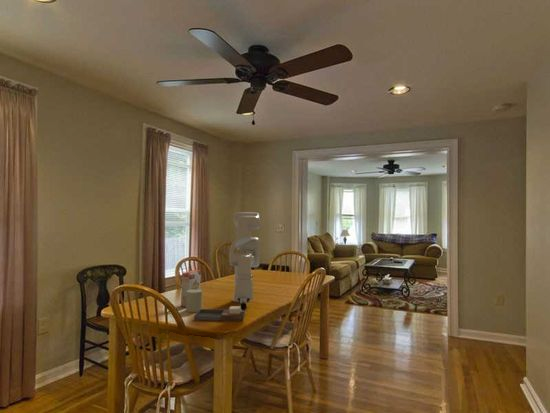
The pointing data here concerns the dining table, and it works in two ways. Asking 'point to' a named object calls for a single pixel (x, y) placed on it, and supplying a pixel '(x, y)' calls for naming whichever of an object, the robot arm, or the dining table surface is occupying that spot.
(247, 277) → the robot arm
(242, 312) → the brown sliding lid
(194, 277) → the cracker box
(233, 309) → the tile
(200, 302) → the can
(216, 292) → the dining table surface
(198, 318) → the box
